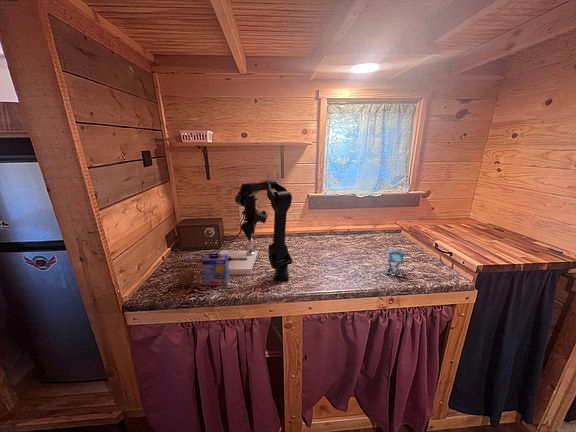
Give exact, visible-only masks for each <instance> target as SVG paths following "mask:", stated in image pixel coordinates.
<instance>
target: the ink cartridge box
mask: <svg viewBox="0 0 576 432" xmlns="http://www.w3.org/2000/svg"><path fill="white" fill-rule="evenodd" d="M218 254H219V253H209V254H205V255H204V257H202V260H201V265H202V271H203V272H202V273H203V281H204V286H219V285H220V286H226V285H228V284H229V282H230V274H229V266H228V262H229V258H228V255H227V254H220V255H218Z"/></svg>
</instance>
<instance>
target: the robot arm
mask: <svg viewBox="0 0 576 432" xmlns="http://www.w3.org/2000/svg"><path fill="white" fill-rule="evenodd" d="M240 185H241V186H240V188H239V191H238V192H237V194H236V196H235V197H234V202H235V203H236V204H237V205H239V206H242V207H244V208H243V209H244V210H243V214H244V219H243V222H242V223H241V225H240V230H242V231H243V233H244V234H245V236H246V239H247V241H248V240H249V241H251V237H252V238H253V236H252V235H255V232H256V226H257V224H258V223H259V222H260V223H263V224H266V222H267V219H268V214H267V212H266V211H265V210H262V211H258V209H257V204H256V201H258V198H257V196H256V194H258V193H260V192H262V191H266V196H267V198H268V199H269V201H270V206H271V208H272V210H273V211H274V217H273V218H274V219H273V220H274V221H273V222H274V223H273V242H272V243H270V244H269V245H268V252H267V253H268V259H269V264H270V265H269V266H271V268H272V269H273V270H274V276H273V281H274V282H288V281H289V279H290V278H289V277H290V276H289V275H290V272H289V271H288V270H289V268H288V266H289V265H292V264H293V259H292V257H291V255H290V253H289V248H288V246H287V244H286V227H287V226H286V225H287V213H288V211H289V209H290V208H291V205H292V200H293V195H292V194H291V192H290V191H289V190H288V189H287V187H285V186H283V185H282V184H280V183H279V182H278V181H277V180H275V179H269V180H265V181H260V182H246V183H241V184H240ZM272 190H275V191H274V192H273V191H272Z"/></svg>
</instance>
